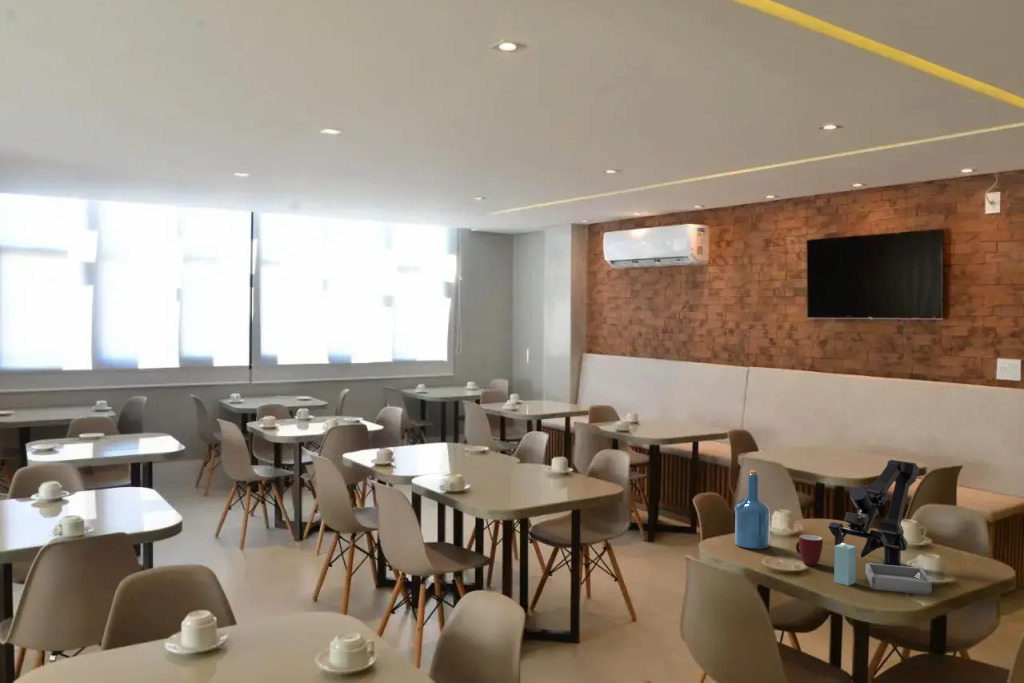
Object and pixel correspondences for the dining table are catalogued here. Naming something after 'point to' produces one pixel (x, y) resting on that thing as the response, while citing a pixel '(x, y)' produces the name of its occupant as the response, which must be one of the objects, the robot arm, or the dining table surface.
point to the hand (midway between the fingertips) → (848, 553)
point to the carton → (845, 564)
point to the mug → (810, 548)
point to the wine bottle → (752, 518)
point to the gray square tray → (898, 579)
